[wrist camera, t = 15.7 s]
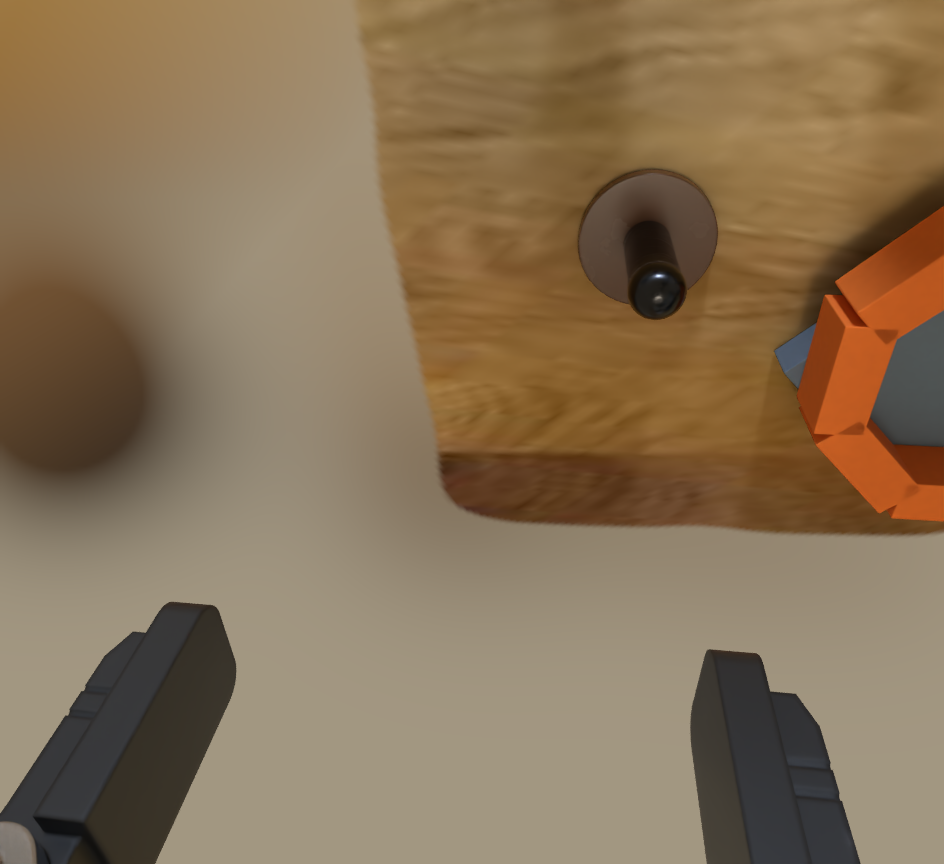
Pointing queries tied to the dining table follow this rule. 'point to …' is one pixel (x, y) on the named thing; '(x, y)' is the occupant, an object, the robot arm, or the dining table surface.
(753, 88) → the dining table surface
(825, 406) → the ring
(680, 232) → the peg stand
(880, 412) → the grey flat slab
